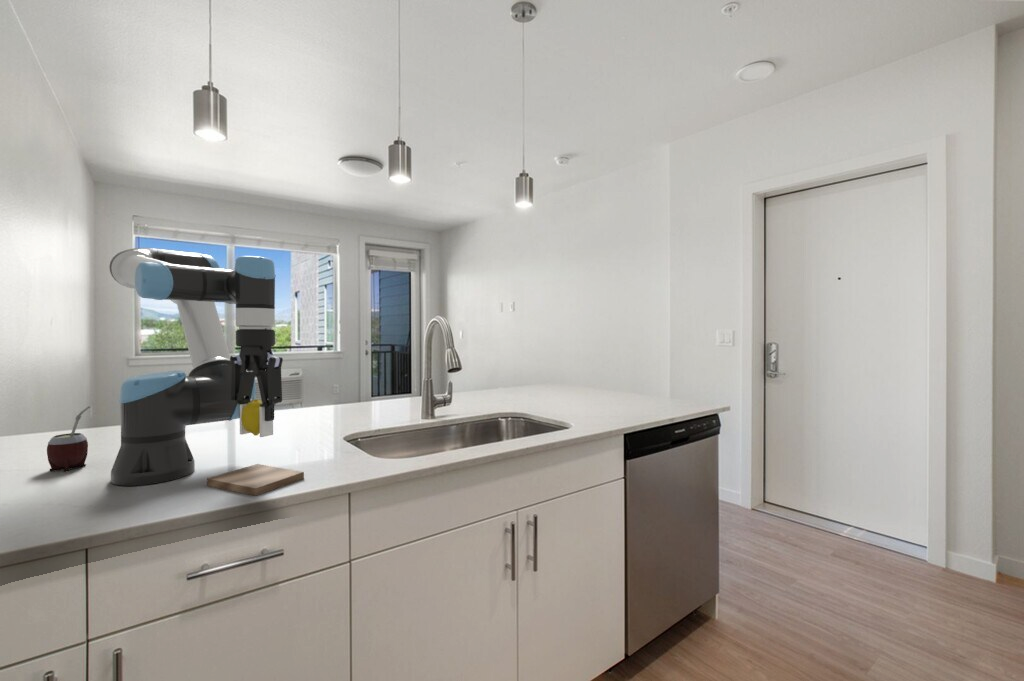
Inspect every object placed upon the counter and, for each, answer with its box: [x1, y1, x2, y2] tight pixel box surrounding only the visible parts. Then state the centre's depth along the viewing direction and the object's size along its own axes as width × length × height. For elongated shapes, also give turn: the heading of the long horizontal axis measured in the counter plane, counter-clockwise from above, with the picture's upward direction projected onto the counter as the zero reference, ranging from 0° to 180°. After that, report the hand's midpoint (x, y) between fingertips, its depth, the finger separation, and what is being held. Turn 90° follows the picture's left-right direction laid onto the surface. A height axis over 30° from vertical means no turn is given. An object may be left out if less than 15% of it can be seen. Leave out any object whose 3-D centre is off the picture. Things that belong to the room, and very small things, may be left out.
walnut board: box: [206, 463, 305, 496], centre depth 102 cm, size 15×12×2 cm
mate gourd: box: [46, 406, 91, 473], centre depth 111 cm, size 8×8×15 cm
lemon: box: [241, 398, 262, 436], centre depth 101 cm, size 6×6×8 cm
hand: (256, 434), depth 101 cm, fingers closed on lemon, 5 cm apart
